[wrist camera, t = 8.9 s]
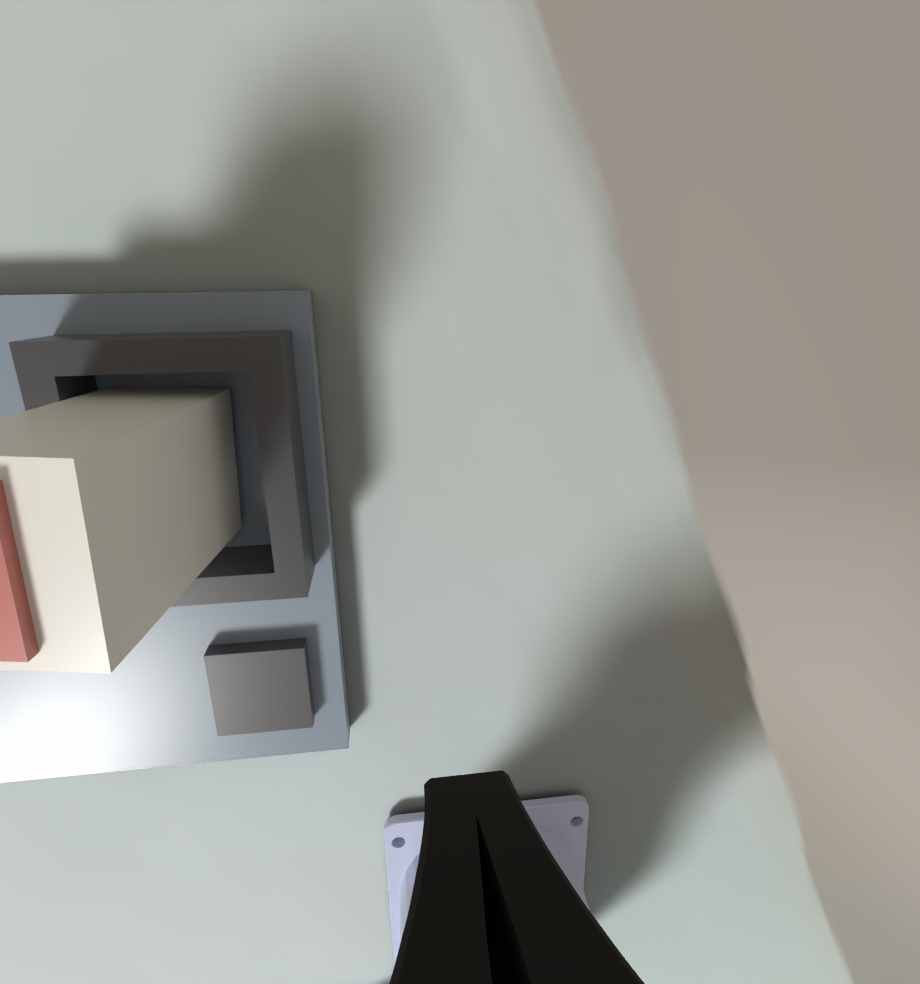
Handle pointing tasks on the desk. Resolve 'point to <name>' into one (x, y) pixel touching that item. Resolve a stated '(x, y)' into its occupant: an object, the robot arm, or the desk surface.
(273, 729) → the board
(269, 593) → the frame
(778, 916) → the desk surface
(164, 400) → the plug
